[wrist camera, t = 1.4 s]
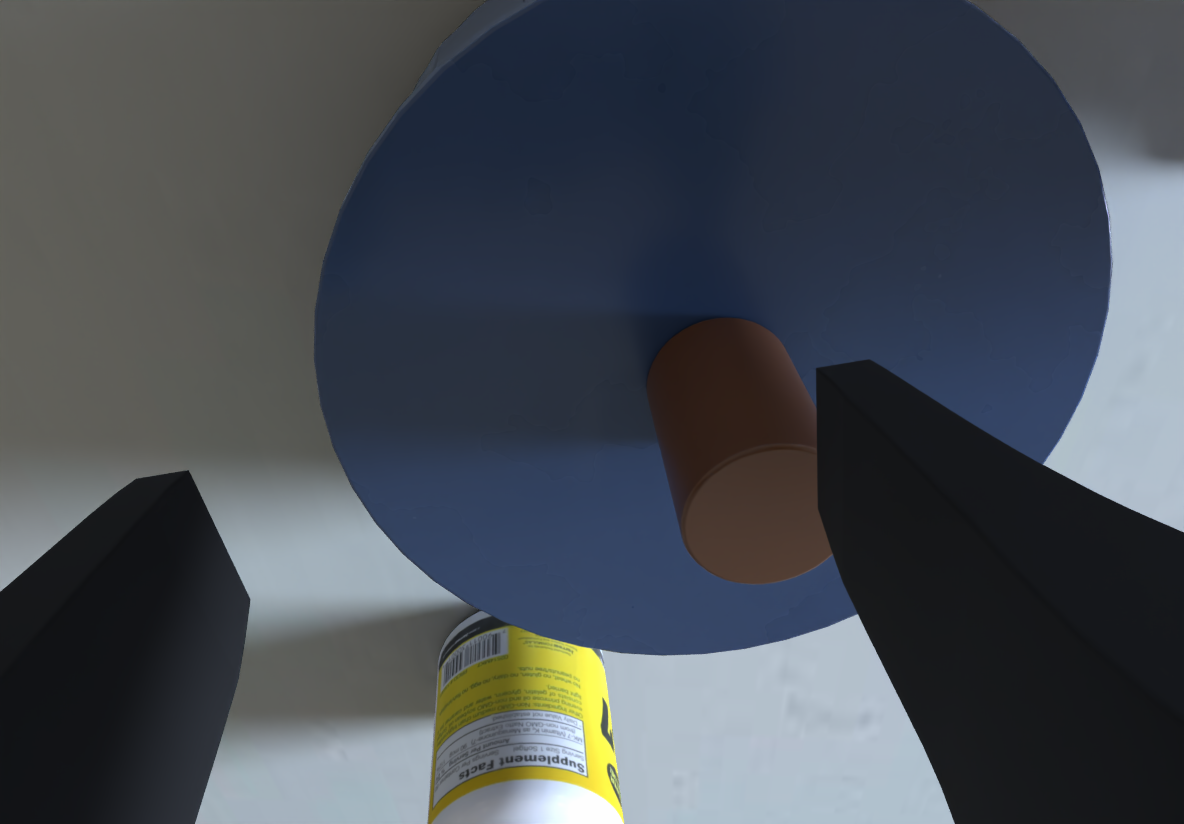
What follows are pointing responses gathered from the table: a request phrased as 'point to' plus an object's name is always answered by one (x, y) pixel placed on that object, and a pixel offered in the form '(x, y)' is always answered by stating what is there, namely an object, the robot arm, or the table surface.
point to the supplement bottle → (521, 731)
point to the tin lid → (693, 296)
